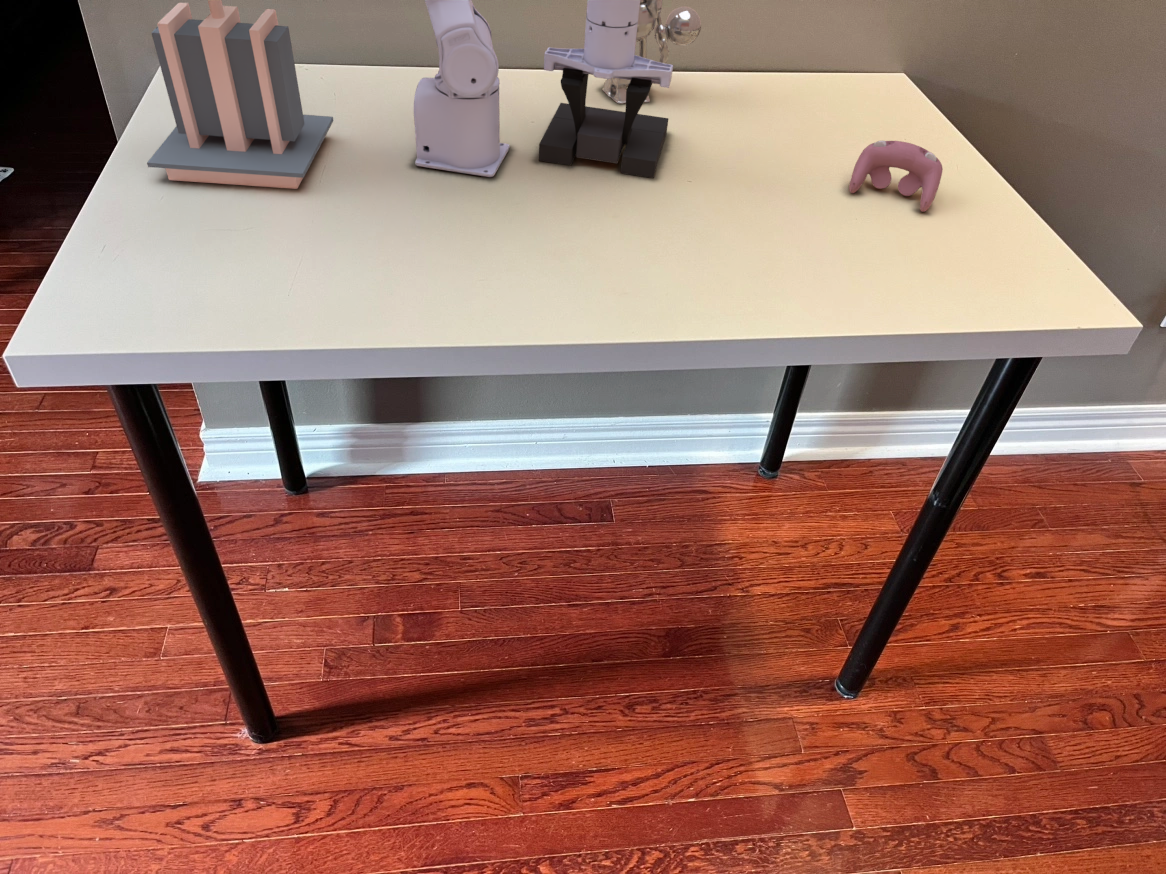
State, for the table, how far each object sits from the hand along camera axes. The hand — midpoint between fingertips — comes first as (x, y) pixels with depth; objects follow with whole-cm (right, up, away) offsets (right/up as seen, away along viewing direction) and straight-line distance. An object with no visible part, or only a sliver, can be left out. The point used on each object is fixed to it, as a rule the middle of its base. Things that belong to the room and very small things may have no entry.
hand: (602, 136), depth 106 cm
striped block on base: (-41, -4, -4) cm, 41 cm away
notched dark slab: (0, 0, +3) cm, 3 cm away
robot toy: (+6, +11, +15) cm, 20 cm away
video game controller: (+34, -7, -1) cm, 35 cm away
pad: (0, -1, +1) cm, 1 cm away
